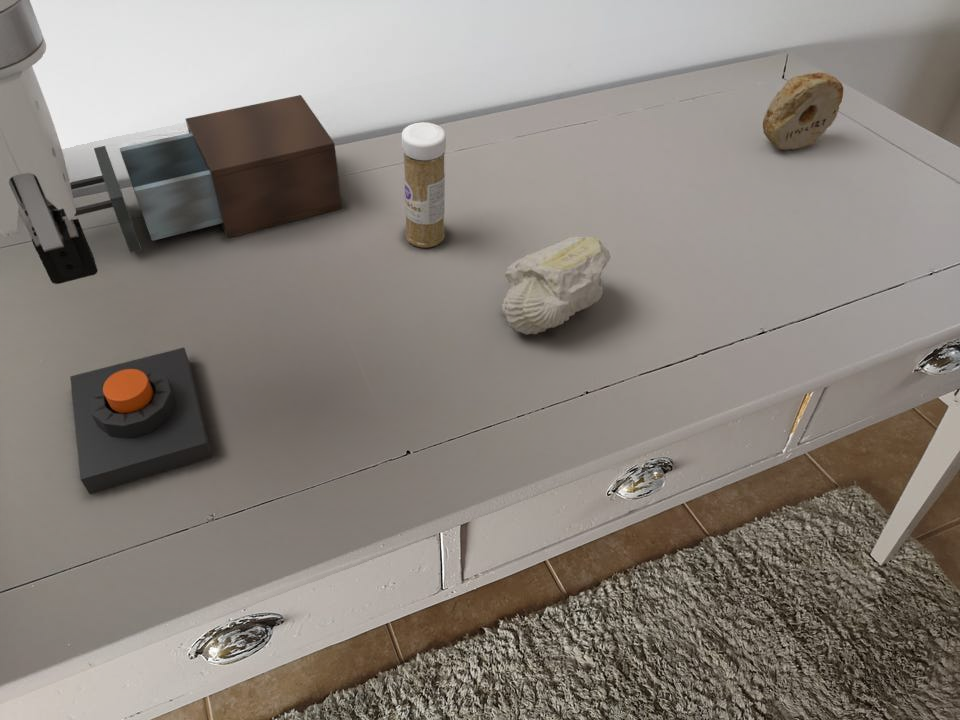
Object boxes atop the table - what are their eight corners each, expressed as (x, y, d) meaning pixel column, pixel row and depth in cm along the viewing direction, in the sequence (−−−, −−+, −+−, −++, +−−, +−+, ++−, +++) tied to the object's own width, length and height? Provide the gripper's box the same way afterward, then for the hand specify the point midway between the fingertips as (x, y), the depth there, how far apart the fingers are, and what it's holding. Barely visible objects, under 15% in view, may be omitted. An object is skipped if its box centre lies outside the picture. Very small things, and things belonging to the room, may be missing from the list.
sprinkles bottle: (397, 235, 89) (391, 130, 79) (427, 220, 91) (426, 115, 81) (423, 255, 87) (420, 149, 77) (453, 238, 89) (455, 133, 79)
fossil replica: (480, 332, 79) (572, 368, 77) (487, 276, 72) (588, 314, 71) (523, 256, 86) (608, 288, 84) (534, 199, 79) (626, 232, 78)
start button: (107, 388, 67) (100, 375, 66) (150, 377, 68) (144, 363, 67) (111, 418, 65) (104, 405, 64) (156, 406, 66) (150, 393, 65)
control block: (78, 391, 72) (62, 362, 69) (189, 363, 75) (179, 333, 72) (89, 494, 64) (72, 466, 61) (212, 458, 67) (202, 429, 64)
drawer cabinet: (227, 238, 88) (210, 171, 81) (202, 184, 94) (185, 118, 88) (342, 208, 92) (334, 142, 86) (310, 158, 99) (300, 94, 93)
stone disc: (811, 131, 108) (838, 62, 101) (829, 144, 106) (857, 75, 98) (749, 143, 105) (772, 73, 98) (765, 158, 103) (790, 87, 96)
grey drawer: (73, 267, 82) (48, 213, 77) (59, 213, 88) (36, 160, 83) (244, 223, 88) (232, 170, 83) (221, 175, 94) (208, 123, 89)
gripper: (-110, -11, 48) (10, 228, 61) (-108, 105, 39) (31, 354, 52) (23, -28, 50) (110, 205, 64) (53, 78, 41) (146, 322, 55)
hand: (74, 272), depth 58 cm, fingers closed
